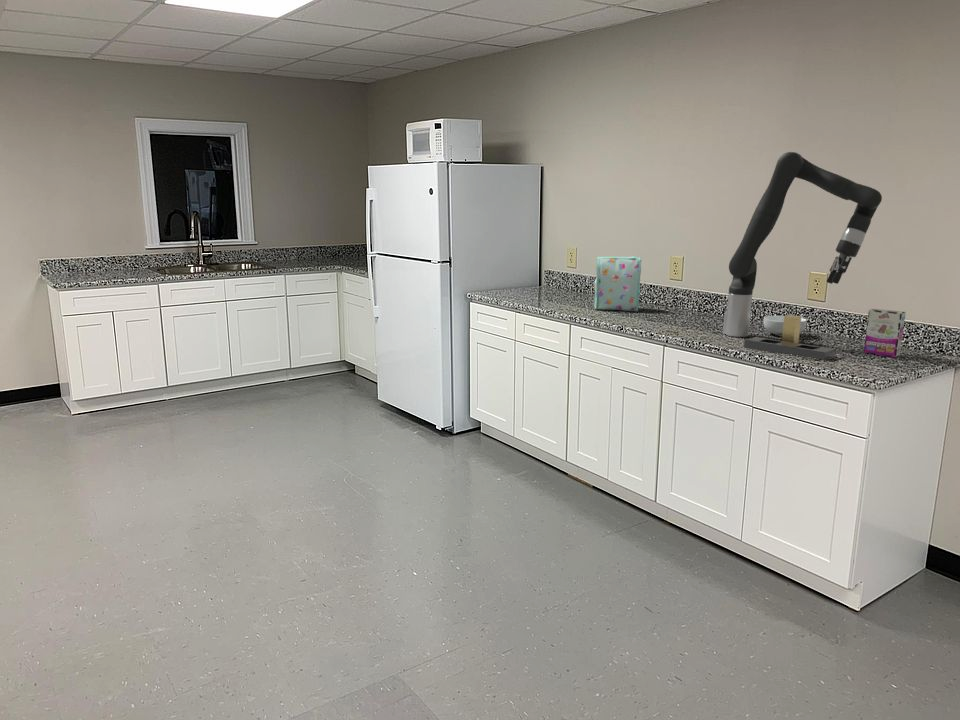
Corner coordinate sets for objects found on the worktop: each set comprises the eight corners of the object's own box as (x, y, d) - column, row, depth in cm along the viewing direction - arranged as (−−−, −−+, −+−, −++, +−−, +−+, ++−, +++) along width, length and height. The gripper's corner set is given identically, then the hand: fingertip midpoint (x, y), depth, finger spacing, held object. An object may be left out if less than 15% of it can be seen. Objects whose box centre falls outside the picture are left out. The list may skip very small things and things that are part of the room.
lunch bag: (637, 307, 380) (641, 255, 374) (640, 312, 364) (643, 257, 358) (593, 306, 383) (595, 253, 377) (593, 310, 367) (595, 256, 362)
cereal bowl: (770, 330, 319) (771, 314, 318) (810, 335, 309) (812, 318, 307) (756, 335, 306) (758, 318, 305) (797, 340, 296) (799, 323, 295)
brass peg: (781, 347, 281) (784, 316, 278) (786, 345, 284) (789, 315, 281) (792, 349, 278) (796, 317, 275) (797, 347, 281) (801, 316, 278)
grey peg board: (743, 347, 279) (744, 339, 278) (755, 344, 285) (755, 337, 284) (824, 360, 258) (825, 352, 257) (834, 357, 264) (835, 349, 263)
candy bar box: (900, 356, 268) (906, 311, 265) (895, 358, 265) (902, 312, 261) (867, 351, 276) (873, 308, 272) (862, 353, 273) (868, 309, 269)
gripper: (835, 239, 282) (817, 279, 285) (845, 237, 269) (826, 279, 271) (855, 246, 281) (836, 286, 284) (866, 244, 267) (846, 286, 270)
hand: (831, 282), depth 278 cm, fingers open, 8 cm apart
